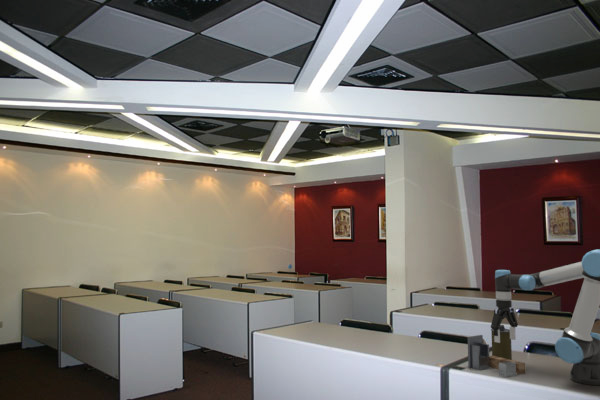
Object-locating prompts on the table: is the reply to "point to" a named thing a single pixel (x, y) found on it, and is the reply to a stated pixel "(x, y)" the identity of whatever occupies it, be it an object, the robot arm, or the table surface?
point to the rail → (496, 360)
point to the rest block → (507, 369)
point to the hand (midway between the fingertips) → (505, 340)
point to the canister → (502, 344)
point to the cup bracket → (478, 353)
